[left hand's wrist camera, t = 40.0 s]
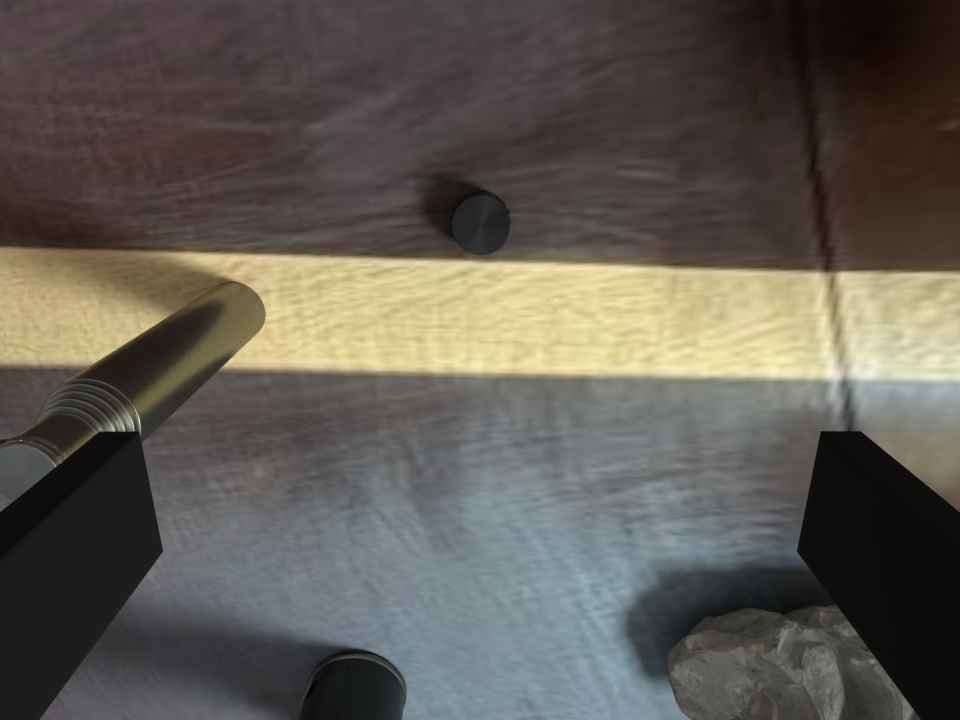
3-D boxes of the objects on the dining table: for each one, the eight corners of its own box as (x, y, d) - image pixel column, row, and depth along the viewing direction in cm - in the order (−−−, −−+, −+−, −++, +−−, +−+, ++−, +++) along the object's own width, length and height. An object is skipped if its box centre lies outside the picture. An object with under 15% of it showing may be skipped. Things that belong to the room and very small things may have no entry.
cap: (444, 237, 48) (442, 243, 46) (464, 181, 47) (463, 185, 45) (497, 257, 49) (498, 264, 46) (518, 203, 47) (520, 207, 45)
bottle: (258, 279, 49) (61, 420, 26) (271, 336, 51) (95, 518, 28) (199, 285, 50) (-50, 430, 26) (213, 342, 51) (-10, 527, 28)
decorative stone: (1024, 569, 58) (1128, 655, 49) (982, 698, 63) (1070, 798, 54) (663, 575, 58) (698, 662, 49) (651, 703, 64) (681, 804, 54)
